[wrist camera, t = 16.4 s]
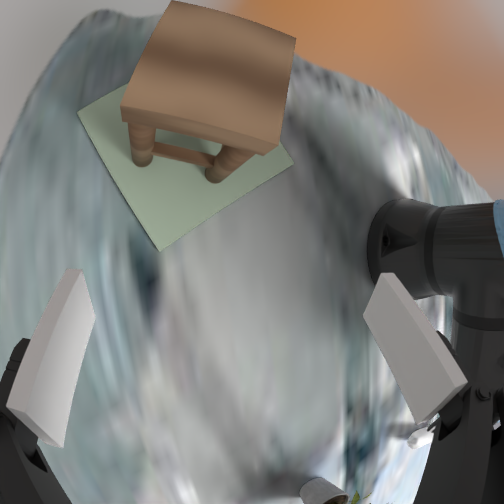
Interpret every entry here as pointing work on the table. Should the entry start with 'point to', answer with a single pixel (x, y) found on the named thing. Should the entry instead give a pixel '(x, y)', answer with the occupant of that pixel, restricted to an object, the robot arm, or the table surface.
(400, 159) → the table surface
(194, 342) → the table surface
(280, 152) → the mat
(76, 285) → the robot arm
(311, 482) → the house plant
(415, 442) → the white curved shape
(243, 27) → the stool
